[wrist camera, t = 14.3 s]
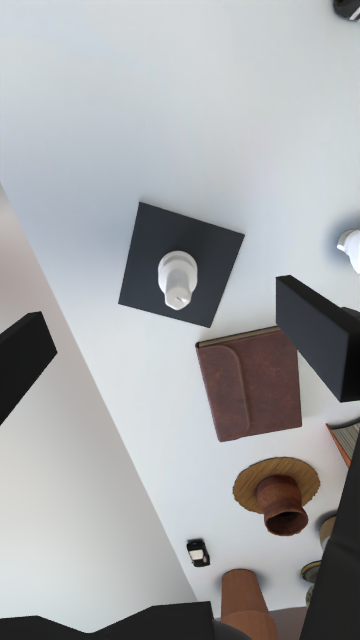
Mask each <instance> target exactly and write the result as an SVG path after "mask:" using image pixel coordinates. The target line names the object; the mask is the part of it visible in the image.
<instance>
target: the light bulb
mask: <svg viewBox="0 0 360 640" xmlns="http://www.w3.org/2000/svg"><path fill="white" fill-rule="evenodd" d="M338 248H339V250H340V251H341V252H342V253H345V254H347V255H348V256H350V261H351V264H352V266H353V268H354V269H355V271H356V272H357V273H358V274H360V230H353V229H351V230H347V231H345V232H344V233H342V235H341V236H340V237H339V239H338Z"/></svg>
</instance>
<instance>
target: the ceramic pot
mask: <svg viewBox="0 0 360 640" xmlns="http://www.w3.org/2000/svg"><path fill="white" fill-rule="evenodd" d="M317 475H318V474H317V473H316V472H315V470H314V468H312V467H311V466H309V465H308V464H306V463H304V462H302V461H300V460H295V459H293V458H288V457H283V458H274V459H269V460H264V461H263V462H259V463H258V464H255V465H252V466H250V467H249V468H248V469H246V470H245V471H243V472H241V473H240V475H239V476H238V477H237V478H238V479H237V480H236V481H235V486H234V487H233V494H234V496H235V500H236V501H237V502H239V504H240V505H241V506H242V507H245V509H247V510H248V511H253V512H256V513H259V514H264V522H265V526H266V527H267V529H268V531H269V532H270V533H272V534H275V535H278V536H292V535H294V534H298V533H300V532H301V530H302V529H304V528H305V527H306V525H307V524H308V516H307V514H306V512H305V510H304V509H303V508H302V507H303V506H305V504H307V503H308V502H309V501H310V500H312V497H313V496H315V494H316V493H317V490H318V489H319V487H320V481H319V478H318V476H317Z"/></svg>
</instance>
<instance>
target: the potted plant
mask: <svg viewBox="0 0 360 640" xmlns="http://www.w3.org/2000/svg"><path fill="white" fill-rule="evenodd" d="M220 622H222V623H225V624H228V625H230V626H232V627H234V628H236V629H238V630H240V631H242V632H244V633H245V634H246V635H248V636H249V637H251V638H252V639H253V640H279V637H278V633H277V630H276V626H275V622H274V619H273V618H272V617H271V616H270V615H269V611H268V609H267V606H266V603H265V600H264V598H263V595H262V592H261V589H260V587H259V584H258V581H257V578H256V575H255V574H254V573H253V572H251V571H249V570H244V569H237V570H232V571H229V572H227V573H226V574H225V575H224V576H223V578H222V600H221V621H220Z"/></svg>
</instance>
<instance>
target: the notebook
mask: <svg viewBox="0 0 360 640" xmlns="http://www.w3.org/2000/svg"><path fill="white" fill-rule="evenodd" d="M195 347H196V352H197V356H198V360H199V364H200V368H201V372H202V376H203V380H204V384H205V388H206V392H207V397H208V401H209V405H210V409H211V413H212V417H213V421H214V425H215V429H216V433H217V437H218V440H219V441H220V442H225V441H231V440H236V439H239V438H241V437H247V436H252V435H258V434H264V433H269V432H275V431H281V430H286V429H292V428H298V427H302V418H301V402H300V387H299V372H298V357H297V349H296V347H295V346H294V345H293V344H292V342H291V341H290V340H289V339H288V337H287V336H286V335H285V334H284V332H283V331H282V330H281V329H280V327H279V326H274V327H269V328H264V329H259V330H255V331H250V332H245V333H240V334H235V335H231V336H226V337H221V338H216V339H211V340H207V341H202V342H197V343H196V345H195Z"/></svg>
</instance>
